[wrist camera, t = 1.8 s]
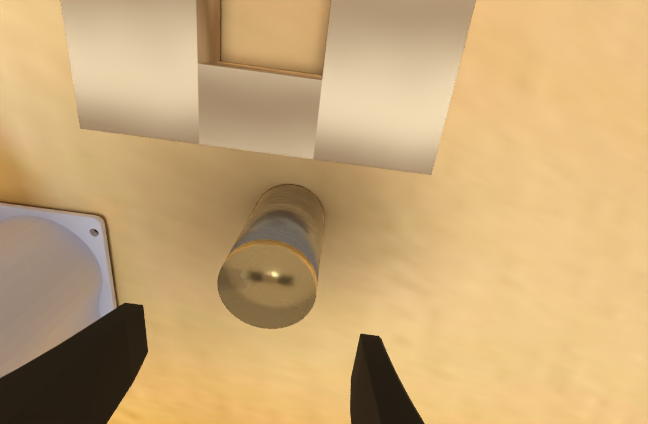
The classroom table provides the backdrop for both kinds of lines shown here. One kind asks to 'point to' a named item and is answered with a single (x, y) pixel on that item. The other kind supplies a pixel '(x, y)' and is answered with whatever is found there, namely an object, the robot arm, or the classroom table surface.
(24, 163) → the classroom table surface
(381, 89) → the block
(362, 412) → the robot arm
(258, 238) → the pin
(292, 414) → the classroom table surface
